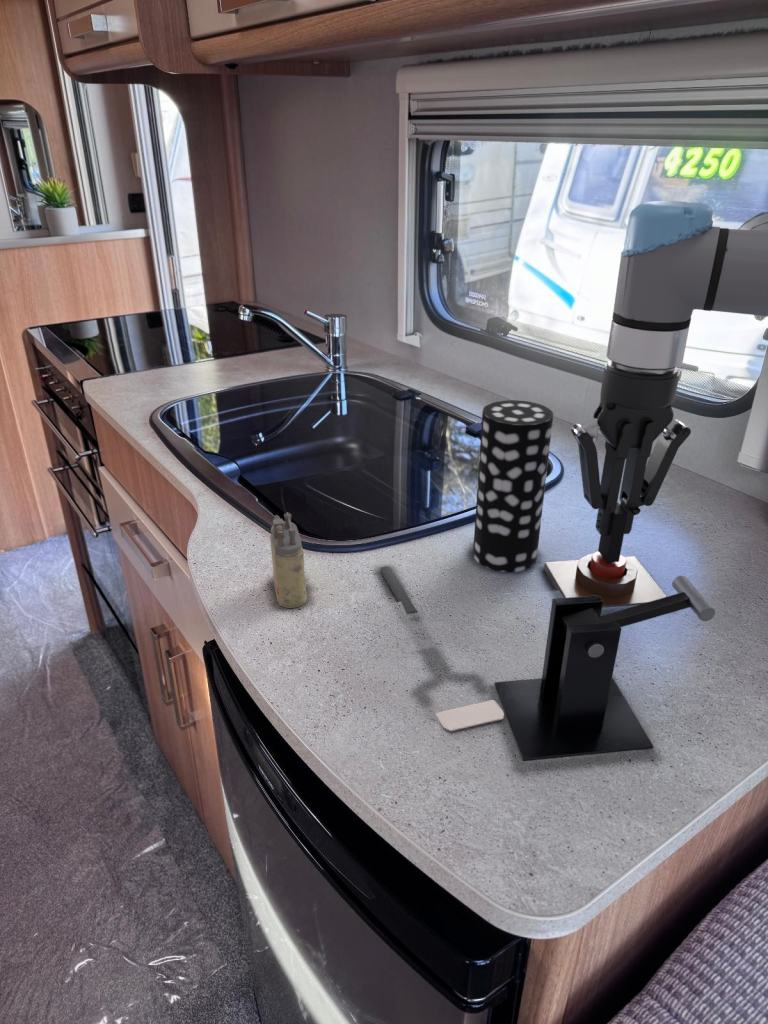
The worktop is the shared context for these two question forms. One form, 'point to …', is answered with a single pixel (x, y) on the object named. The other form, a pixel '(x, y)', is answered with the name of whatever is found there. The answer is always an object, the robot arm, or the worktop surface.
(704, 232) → the robot arm
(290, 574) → the lighter
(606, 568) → the button
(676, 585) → the lever
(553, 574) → the button block
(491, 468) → the white-spotted black cylinder
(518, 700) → the bracket
